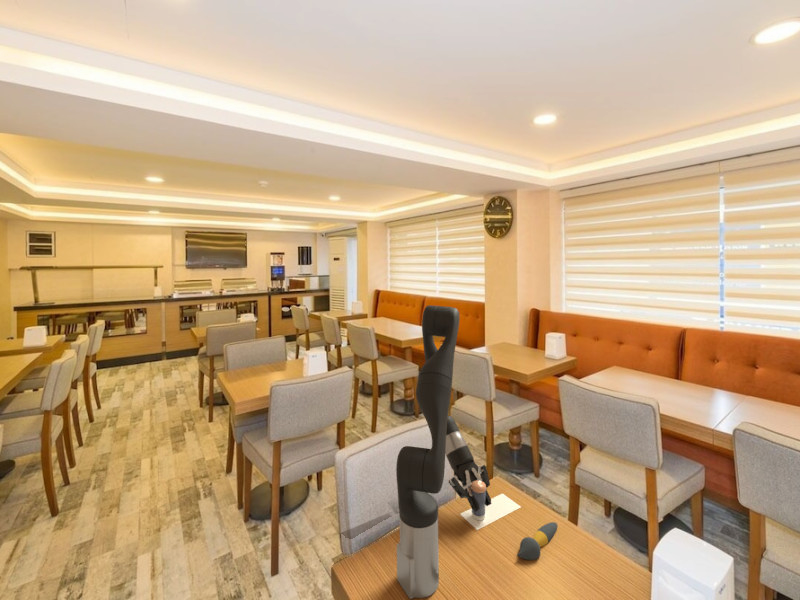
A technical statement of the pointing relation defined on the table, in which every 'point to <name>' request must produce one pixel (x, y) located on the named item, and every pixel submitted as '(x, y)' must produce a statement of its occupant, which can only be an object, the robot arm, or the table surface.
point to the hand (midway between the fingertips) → (483, 507)
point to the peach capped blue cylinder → (479, 499)
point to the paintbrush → (537, 541)
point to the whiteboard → (492, 511)
